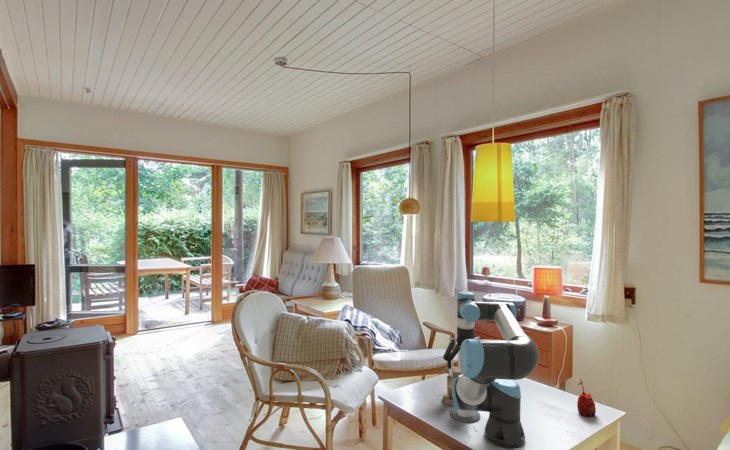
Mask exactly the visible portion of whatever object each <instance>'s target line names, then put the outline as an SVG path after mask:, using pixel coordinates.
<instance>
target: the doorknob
mask: <svg viewBox="0 0 730 450" xmlns="http://www.w3.org/2000/svg"><path fill="white" fill-rule="evenodd" d="M444 370H445V371H444V373H445V374H447V375H446V377H447V378H446V381H447V383H446V387H447V388H446V393H445V394H443V396H442V402H443V403H444V404H445V405H446V406H447V405H448V406H449V407H450V406H451V407H454V406H453V396H452V379H454V378H460V377H461V376H462V375H463V374H462V373H461V370H460V367H457V366H453V377H451V376H450V375H449V369H448V367H447V366H446V367H445V369H444Z"/></svg>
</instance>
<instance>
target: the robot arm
mask: <svg viewBox="0 0 730 450" xmlns="http://www.w3.org/2000/svg"><path fill="white" fill-rule="evenodd" d="M456 297H457V298H456V301H457V302H456V305H457V306H456V310H457V311H456V313H457V314H456V326H457V327H456V335H457V337H456V338H453V337H450V338H449V343H448V346H447V348H446V349H445V352H444V354H443V356H442V359H443V360H444V361H445V362H446V367H448V369H449V374H448V375H450V376H451V377H453V367H454V361H453V360H454V359H455V357H456V356H457V355H458V353H459V358H458V359H459V361H458V362H459V368H460V370H461V373H462V374H461V376H459V377H460V378H454V379H452V396H453V406H452V407H453V408H455V409H458V410H469V411H478V412H489V416H488V418H487V420H486V423H485V427H484V436H485V438H486V439H487V441H488V442H490V443H491V444H493V445H495V446H497V447H500V448H504V449H518V448H522V447H524V445H525V444H526V434H525V432H524V428H523V425H522V421H521V401H522V400H521V398H522V392H521V386H520V384H519V382H517V380H523V379H525V378H527V377H529V376H531V374H533V373H534V372H535V370H536V369H537V367H538V365H539V362H540V350H539V348H538V345H537V344H536V341H534V340H533V339H532V338H531V337H530V336H529V335H527V334H526V333H525V330H523V328H522V326H521V325H520V323H519V322H518V320H517V314H518V313H517V312H518V311H517V308H516V307H517V306H516V305H515V303H513V302H507V301H503V302H499V301H498V302H497V301H494V302H493V301H476V299H475V293H474V292H471V291H459V292H457V295H456ZM477 321H488V322H489V321H490V322H491V321H493V322H495V324H496V326H497V328H498V330H499V332H500V335H501V336H502V340H501V339H482V337H480V336H476V337H475V323H476V322H477Z"/></svg>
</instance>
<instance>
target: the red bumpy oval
mask: <svg viewBox="0 0 730 450" xmlns="http://www.w3.org/2000/svg"><path fill="white" fill-rule="evenodd" d="M579 380H580V381H578V382H577V385H579V386H580V385H581V386H582V387H581V388H582V393H581V394H580V395H579V396H578V398H577V403H576V404H577V405H576V406H577V411H578V413H579V414H580V415H581V416H582V417H585V418H587V417H589V418H591V417H595V416H596V412H597V410H596V404H595V401H594V400H593V396H592V395H591V394H590V393H586V392H585V387H584V384H583V383H585V382H586V381H582V378H579Z"/></svg>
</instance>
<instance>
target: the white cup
mask: <svg viewBox="0 0 730 450" xmlns="http://www.w3.org/2000/svg"><path fill="white" fill-rule="evenodd" d="M457 413H458V415H460V416H462V417H471V416H472V415H473V411H469V410H458V409H457Z"/></svg>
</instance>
